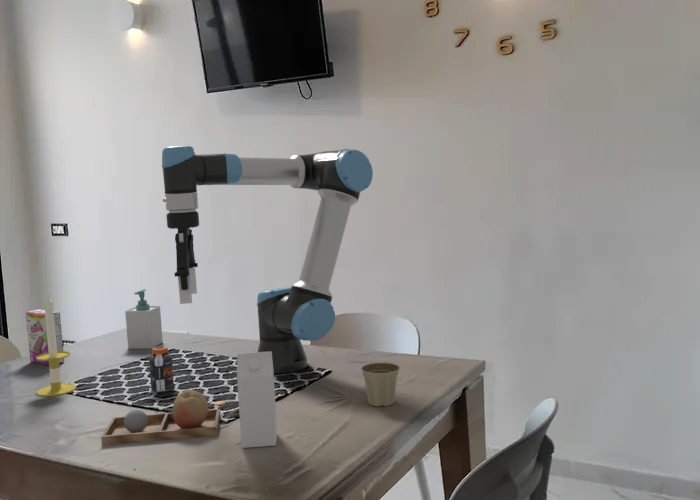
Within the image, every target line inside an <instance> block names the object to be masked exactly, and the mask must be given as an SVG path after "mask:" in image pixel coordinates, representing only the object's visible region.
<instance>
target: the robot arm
mask: <svg viewBox="0 0 700 500" xmlns="http://www.w3.org/2000/svg"><path fill="white" fill-rule="evenodd" d="M161 152H162V154H161V168H162V176H163V186H164V196H165V197H163V198H162V202H163V203H165V210H166V211H167V214H166V227H167V228H168V229H171V230H174V229H177V232H176V233H175V237H174V241H175V245H176V246H175V250H176V272H174V277H175V278H177V282H178V292H179V305H183V304H185V305H186V304H192V303H193V298H192V296H193V294H194V295H195V294H198V289H197V276H196V275H197V274H196V268H198V266H199V265H198V262H196V258H195V251H194V235H193V231H192V228H193V229H194V228H196V227H198V228H199V226H200V217H199V212H198V211H197V209H198V208H199V201H198V189H197V187H198V186H234V185H235V186H290V187H291V188H293V189H303V190H304V189H306V190H314V191H317V193H318V195H319V196H320V201H319V206H318V209H317V213H316V216H315V220H314V223H313V227H312V232H311V236H310V238H309V239H310V240H309V242H308V246H307V249H306V254H305V257H304V261H303V265H302V267H301V271H300V275H299V279H298V281H296V282H295V283H293V284H291V286H288V287H280V288H279V287H277V288H271V289H264V290H261V291H260V292H259V293H258V294H257V302H256V306H257V316H258V317H257V319H258V331H259V332H258V334H259V345H258V348H257V351H256V352H270V351H272V360H273V371H274V374H286V373H287V374H289V373H294V372H298V371H301V370H303V369H306V367H307V366H308V356H307V354H306V352H305V348H304V347H303V344H302V341H305V342H306V341H310V342H315V341H320V340H321V339H323V338H324V337H326V336H327V335H329V333H330V332H331V330H332V329H333V326H334V324H335V320H336V311H335V310H334V308H335V307H334V306H333V305H332V300H333V295H332V292H331V291H330V286H331V282H332V279H333V275H334V271H335V267H336V263H337V260H338V256H339V253H340V249H341V246H342V245H341V244H342V242H343V241H342V240H343V237H344V234H345V230H346V226H347V222H348V219H349V214H350V211H351V208H352V206H354V205H355V204H357V203H358V202H359V198H360V194H361V192H363V191H365V190H366V189H368V188H369V187H370V185H371V183H372V181H373V177H374V176H373V175H374V174H373V173H374V171H373V167H372V164H371V162H370V159H369V158H368V156H367V155H366V154H365V153H364V152H362V151H360V150H359V149H350V148H344V149H343V148H342V149H339V150H338V149H337V150H328V151H327V150H325V151H319V152H316V153H308V154H295V155H292V156H291V157H290V158H287V157H284V158H282V157H278V158H277V157H242V156H241V157H239V156H238V155H237V154H235V153H226V152H224V153H207V154H199V153H198V154H197V153H195V149H194V147H193V146H191V145H179V146H178V145H177V146H167V147H164V148H163V150H162V151H161Z"/></svg>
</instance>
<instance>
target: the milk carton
mask: <svg viewBox="0 0 700 500" xmlns="http://www.w3.org/2000/svg"><path fill="white" fill-rule="evenodd" d="M236 356H237V357H236V359H237V361H236V362H237V363H236V364H237V365H236V366H237V367H236V381H237V393H238V394H237V395H238V397H237V398H238V408H239V409H238V411H239V427H240V428H239V429H240V431H239V432H240V444H241V448H242V449H247V448H258V447H259V448H260V447H272V446H273V447H274V446H277V439H278V438H277V436H278V428H277V427H278V426H277V410H276V409H277V408H276V406H277V405H276V395H275V394H276V392H275V390H276V389H275V375H274V371H273V360H272V351H270V352H257V351H255V352H244V353H241V352H240V353H239V352H238V353H237V355H236Z"/></svg>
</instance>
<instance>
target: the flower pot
mask: <svg viewBox="0 0 700 500" xmlns="http://www.w3.org/2000/svg"><path fill="white" fill-rule="evenodd" d="M400 370H401V366H400V365H398V364H395V363H391V362H373V363H368V364H364V365H362V366H360V371H361V374H362V377H363V378H364V384H365V390H366V396H367V402H368V404H369V405H371V406H375V407H381V406H384V407H388V406H390V405H391V406H392V405H393V404H394V403H395V399H396V398H395V397H396V389H397V388H396V387H397V378H398V375H399V371H400Z"/></svg>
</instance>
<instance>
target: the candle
mask: <svg viewBox="0 0 700 500" xmlns="http://www.w3.org/2000/svg"><path fill="white" fill-rule="evenodd" d="M46 294H47V295H46V296H45V301H44V302H43V303H44V304H43V305H44V310H45V318H46V329H47V340H48V351H49V353H45V354H41V355H39V356H37V357H36V359H37V360H40V361H49V365H48V367H49V379H50V385H48V386H45V387H43V388H40V389H38V390H37V391H36V395H37V396H39V397H47V398H48V397H58V396H63V395H66V394H69V393H72V392H74V391H76V389H77V387H76V385H74V384H71V383H70V384H68V383H67V384H66V383H62V382H61V371H60V370H61V369H60V364H59V359H62V358H64V359H65V358H68V357H70V355H71V352H69V351H66V350H65V351H64V350H63V351H58V352H57V344H56V333H55V322H54V303H53V301H52V299H51V297H50V295H49V294H48V292H46ZM73 390H74V391H73Z"/></svg>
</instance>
